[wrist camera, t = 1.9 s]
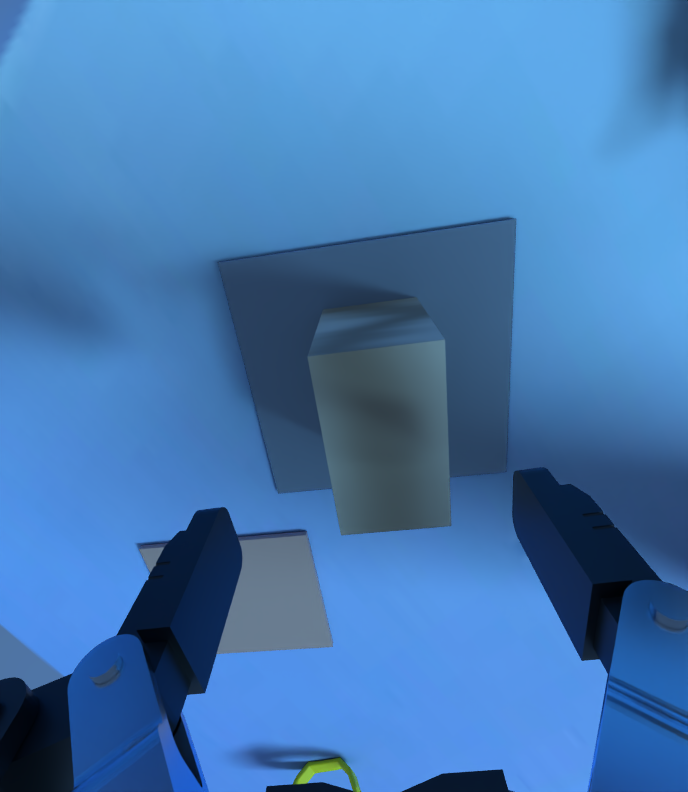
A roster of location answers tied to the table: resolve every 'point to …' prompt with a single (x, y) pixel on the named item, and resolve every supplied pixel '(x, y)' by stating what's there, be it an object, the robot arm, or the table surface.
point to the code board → (370, 283)
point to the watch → (323, 767)
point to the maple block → (383, 415)
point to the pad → (271, 596)
